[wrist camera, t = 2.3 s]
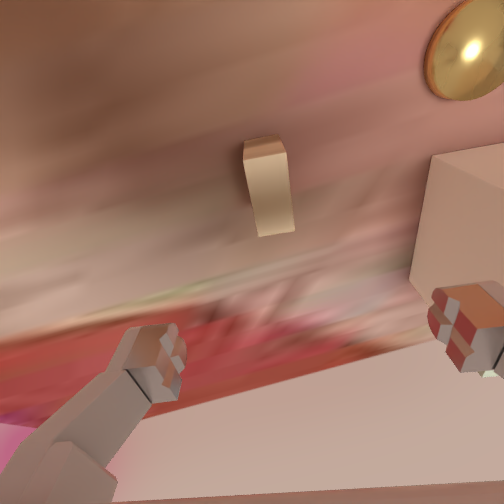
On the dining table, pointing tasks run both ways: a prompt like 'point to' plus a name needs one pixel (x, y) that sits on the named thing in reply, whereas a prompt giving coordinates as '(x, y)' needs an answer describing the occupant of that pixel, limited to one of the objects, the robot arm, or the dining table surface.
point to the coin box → (461, 222)
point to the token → (269, 185)
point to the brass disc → (467, 51)
